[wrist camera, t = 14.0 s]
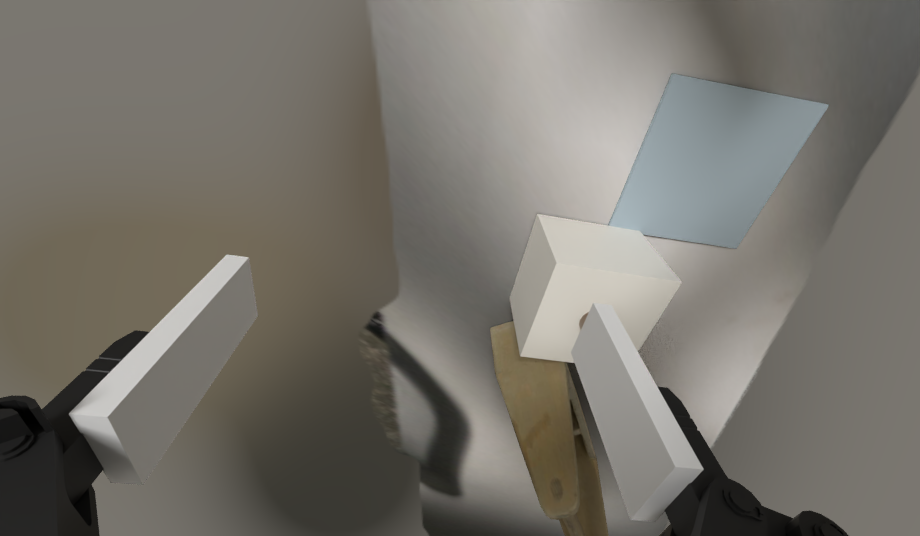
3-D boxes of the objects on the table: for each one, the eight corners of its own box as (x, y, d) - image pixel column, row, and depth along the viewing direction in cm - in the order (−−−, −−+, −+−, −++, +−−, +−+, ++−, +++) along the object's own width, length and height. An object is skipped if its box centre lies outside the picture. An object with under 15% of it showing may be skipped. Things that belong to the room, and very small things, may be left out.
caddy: (582, 413, 77) (645, 603, 52) (531, 425, 79) (568, 614, 54) (549, 309, 62) (614, 503, 37) (487, 327, 64) (509, 523, 39)
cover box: (537, 213, 52) (581, 324, 34) (639, 230, 54) (734, 345, 35) (509, 298, 61) (532, 423, 42) (598, 310, 62) (658, 437, 44)
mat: (671, 73, 43) (673, 73, 43) (826, 104, 45) (829, 104, 45) (606, 227, 54) (607, 229, 54) (734, 247, 56) (736, 248, 56)
